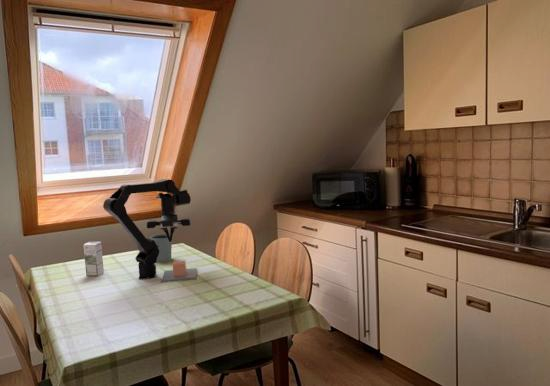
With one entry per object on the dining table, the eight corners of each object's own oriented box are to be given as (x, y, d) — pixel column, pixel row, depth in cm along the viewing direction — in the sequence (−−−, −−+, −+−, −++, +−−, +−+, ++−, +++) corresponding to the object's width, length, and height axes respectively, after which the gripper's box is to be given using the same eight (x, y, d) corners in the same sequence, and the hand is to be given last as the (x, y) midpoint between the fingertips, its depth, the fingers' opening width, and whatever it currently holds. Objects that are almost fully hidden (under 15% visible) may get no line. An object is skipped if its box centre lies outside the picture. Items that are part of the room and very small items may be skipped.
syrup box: (104, 272, 202) (101, 241, 201) (98, 276, 197) (95, 244, 195) (92, 272, 203) (89, 241, 201) (85, 276, 197) (82, 244, 195)
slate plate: (161, 282, 184) (161, 280, 184) (164, 272, 198) (164, 270, 198) (196, 279, 186) (195, 277, 186) (196, 269, 200) (196, 268, 200)
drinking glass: (150, 259, 222) (148, 235, 220) (171, 256, 226) (169, 233, 225) (154, 264, 213) (152, 239, 211) (175, 261, 217) (173, 236, 215)
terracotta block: (173, 276, 189) (172, 264, 189) (174, 272, 194) (173, 261, 194) (185, 275, 190) (184, 263, 189) (186, 271, 195) (185, 260, 194)
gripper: (143, 211, 189) (146, 247, 191) (188, 208, 192) (190, 244, 193) (147, 207, 200) (149, 241, 202) (189, 205, 202) (191, 238, 204)
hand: (170, 241), depth 200 cm, fingers closed
